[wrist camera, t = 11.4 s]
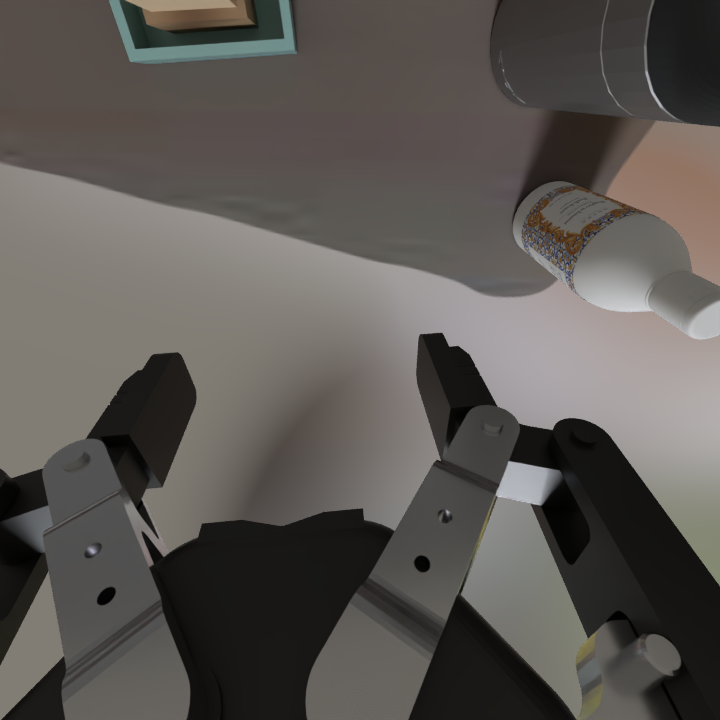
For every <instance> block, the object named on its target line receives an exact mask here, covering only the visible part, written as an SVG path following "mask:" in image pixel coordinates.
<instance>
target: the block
mask: <svg viewBox="0 0 720 720" xmlns="http://www.w3.org/2000/svg"><path fill="white" fill-rule="evenodd" d="M236 6H237V7H230V8H211V9H193V10H174V11H156V12H151V11H149V10H146V9H144V8H142V11H143V14H144V17H145V20H146V24H147V25H150V26H153V27H156V28H158V29H161V30H164V31H167V32H170V33H173V34H179V33H194V32H208V31H223V30H237V29H252V28H259V26H258V20H257V14H256V8H255V2H254V0H236Z"/></svg>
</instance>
